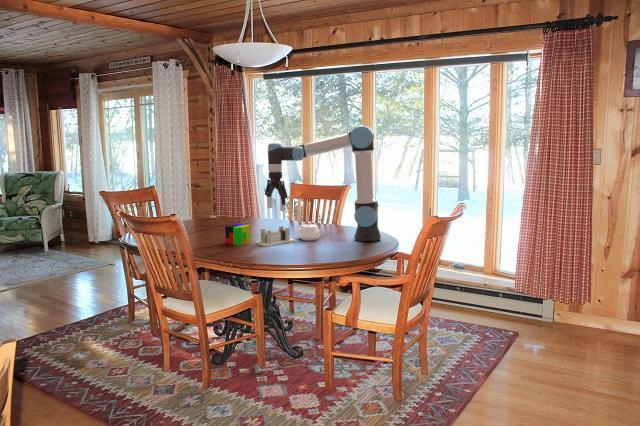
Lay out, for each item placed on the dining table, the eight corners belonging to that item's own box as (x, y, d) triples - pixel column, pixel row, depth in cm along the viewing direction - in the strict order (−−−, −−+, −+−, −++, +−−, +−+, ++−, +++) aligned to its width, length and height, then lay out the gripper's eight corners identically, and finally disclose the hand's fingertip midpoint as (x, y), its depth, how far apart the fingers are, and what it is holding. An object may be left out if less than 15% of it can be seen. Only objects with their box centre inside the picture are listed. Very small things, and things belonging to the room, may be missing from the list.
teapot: (329, 239, 300) (329, 222, 299) (314, 243, 292) (314, 225, 290) (305, 235, 314) (305, 218, 313) (290, 238, 306) (290, 221, 304)
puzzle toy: (239, 240, 301) (238, 223, 299) (251, 242, 294) (250, 225, 293) (225, 243, 293) (225, 226, 291) (237, 245, 287) (237, 228, 285)
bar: (288, 239, 297) (288, 230, 296) (264, 242, 288) (263, 234, 287) (285, 238, 300) (285, 229, 299) (260, 241, 290) (260, 233, 290)
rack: (295, 241, 296) (294, 227, 294) (264, 246, 284) (264, 231, 283) (285, 238, 304) (285, 224, 302) (255, 243, 292) (255, 229, 291)
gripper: (293, 172, 281) (294, 211, 284) (269, 169, 301) (270, 206, 304) (281, 173, 276) (282, 212, 280) (258, 170, 296) (259, 207, 299)
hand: (276, 209), depth 292 cm, fingers open, 13 cm apart
